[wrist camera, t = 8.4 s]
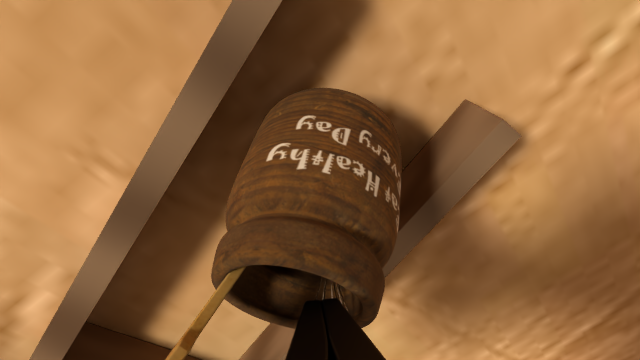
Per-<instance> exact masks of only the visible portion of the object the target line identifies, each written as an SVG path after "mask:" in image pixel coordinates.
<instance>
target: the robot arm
mask: <svg viewBox="0 0 640 360" xmlns="http://www.w3.org/2000/svg"><path fill="white" fill-rule="evenodd" d="M285 360H386V359H385V358H384V357H383V355H382V354H381V353H380V351H379V350H378V349H377V348H376V346H375V345H374V344H373V343H372V341H371V340H370V339H369V338H368V336H367V335H366V334H365V333H364V331H363V330H362V329H361V327H360V326H359V325H358V324H357V322H356V321H355V320H354V319H353V317H352V316H351V315H350V314H349V312H348V311H347V310H346V308H345V307H344V306H343V305H342V303H341V302H340V301H339V300H338V299H337V298H329V299H323V300H322V301H320V300H311V301H306V302H305V303H304V305H303V308H302V311H301V314H300V317H299V320H298V323H297V326H296V329H295V332H294V335H293V338H292V340H291V343H290V346H289V349H288V352H287V355H286V358H285Z"/></svg>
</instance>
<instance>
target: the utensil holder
mask: <svg viewBox="0 0 640 360" xmlns="http://www.w3.org/2000/svg"><path fill="white" fill-rule="evenodd" d="M401 171H402V160H401V148H400V142H399V138H398V135H397V132H396V130H395V128H394V126H393V124H392V123H391V121H390V120H389V118H388V117H387V116H386V115H385V114H384V113H383V112H382V111H381V110H380V109H379V108H378V107H377V106H375V105H374V104H373V103H371V102H370V101H368V100H366V99H365V98H363V97H360V96H358V95H356V94H353V93H350V92H347V91H343V90H339V89H332V88H314V89H307V90H303V91H299V92H296V93H294V94H291V95H289V96H287V97H286V98H284V99H282V100H281V101H280V102H278V103H277V104H276V105H275V106H274V107H273V108H272V109H271V110H270V111H269V113H268V114H267V115H266V117H265V118H264V120H263V122H262V123H261V125H260V127H259V129H258V131H257V133H256V135H255V137H254V139H253V141H252V143H251V146H250V148H249V150H248V152H247V154H246V157H245V159H244V161H243V163H242V165H241V168H240V170H239V172H238V175H237V177H236V179H235V182H234V184H233V187H232V189H231V192H230V195H229V199H228V203H227V208H226V226H227V231H228V232H227V233H226V234H225V235H224V236H223V237H222V239H221V241H220V242H219V244H218V247H217V250H216V254H215V258H214V263H213V268H212V274H211V278H212V283H213V285H214V287H215V289H216V291H215V292H214V294H213V295H212V296H211V298H210V299H209V301H208V302H207V303H206V305H205V306H204V308H203V309H202V310H201V312H200V313H199V314H198V316H197V317H196V319H195V320H194V321H193V323H192V324H191V326H190V327H189V328H188V330H187V331H186V332H185V334H184V335H183V336H182V338H181V339H180V340H179V342H178V343H177V344H176V346H175V347H174V348H173V350H172V351H171V352H170V354H169V355H168V356H167V358H166V359H165V360H184V359H185V358H186V356H187V355H188V353H189V352H190V350H191V348H192V346H193V345H194V343H195V341H196V339H197V338H198V336H199V335H200V333H201V332H202V330H203V329H204V327H205V326H206V324H207V323H208V321H209V320H210V319H211V317H212V316H213V314H214V313H215V311H216V310H217V308H218V307H219V306H220V304H221V303H222V301H223V300H224V299H225V300H227V301H228V302H229V303H231V304H232V305H234V306H235V307H237V308H238V309H240V310H242V311H244V312H246V313H248V314H250V315H252V316H254V317H257V318H259V319H262V320H264V321H267V322H270V323H273V324H277V325H280V326H284V327H288V328H293V329H296V326H297V323H298V320H299V317H300V314H301V311H302V308H303V305H304V303H305V302H306V301H311V300H320V301H322V300H323V299H329V298H337V299H338V300H339V301H340V302H341V303H342V305H343V306H344V307H345V308H346V310H347V311H348V312H349V314H350V315H351V316H352V317H353V319H354V320H355V321H356V322H357V324H358V325H359V326H360V327H361V328H363V327H365V326H367V325H369V324H370V323H371V322H372V321H373V320H374V319H375V318H376V316H377V314H378V311H379V308H380V304H381V300H382V296H383V292H384V287H385V279H384V273H383V270H382V269H383V268H384V266H385V265H386V264H387V262H388V261H389V259H390V257H391V255H392V253H393V250H394V247H395V244H396V239H397V234H398V226H399V213H400V195H401Z"/></svg>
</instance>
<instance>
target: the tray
mask: <svg viewBox="0 0 640 360" xmlns="http://www.w3.org/2000/svg"><path fill="white" fill-rule="evenodd" d="M281 2H282V0H232V2H231V4H230V6H229V7H228V9H227V11H226V13H225V14H224V16H223V18H222V20H221V22H220V23H219V25H218V27H217V29H216V30H215V32H214V34H213V36H212V37H211V39H210V41H209V43H208V45H207V46H206V48H205V50H204V52H203V53H202V55H201V57H200V59H199V60H198V62H197V64H196V66H195V68H194V69H193V71H192V73H191V75H190V76H189V78H188V80H187V82H186V83H185V85H184V87H183V89H182V91H181V92H180V94H179V96H178V98H177V99H176V101H175V103H174V105H173V106H172V108H171V110H170V112H169V114H168V115H167V117H166V119H165V121H164V122H163V124H162V126H161V128H160V129H159V131H158V133H157V135H156V137H155V138H154V140H153V142H152V144H151V145H150V147H149V149H148V151H147V152H146V154H145V156H144V158H143V160H142V161H141V163H140V165H139V167H138V168H137V170H136V172H135V174H134V175H133V177H132V179H131V181H130V183H129V184H128V186H127V188H126V190H125V191H124V193H123V195H122V197H121V198H120V200H119V202H118V204H117V206H116V207H115V209H114V211H113V213H112V214H111V216H110V218H109V220H108V221H107V223H106V225H105V227H104V229H103V230H102V232H101V234H100V236H99V237H98V239H97V241H96V243H95V244H94V246H93V248H92V250H91V252H90V253H89V255H88V257H87V259H86V260H85V262H84V264H83V266H82V267H81V269H80V271H79V273H78V275H77V276H76V278H75V280H74V282H73V283H72V285H71V287H70V289H69V290H68V292H67V294H66V296H65V298H64V299H63V301H62V303H61V305H60V306H59V308H58V310H57V312H56V313H55V315H54V317H53V319H52V321H51V322H50V324H49V326H48V328H47V329H46V331H45V333H44V335H43V336H42V338H41V340H40V342H39V344H38V345H37V347H36V349H35V351H34V352H33V354H32V356H31V358H30V359H29V360H165V359H166V358H167V356H168V355H169V354H170V352H171V351H172V350H169V349H166V348H163V347H160V346H157V345H154V344H151V343H148V342H145V341H142V340H139V339H136V338H132V337H129V336H126V335H123V334H120V333H117V332H114V331H111V330H108V329H105V328H102V327H99V326H96V325H93V324H90V323H87V322H85V321H86V320H87V318H88V317H89V315H90V313H91V312H92V310H93V308H94V307H95V305H96V304H97V302H98V300H99V299H100V297H101V295H102V294H103V292H104V290H105V289H106V287H107V286H108V284H109V282H110V281H111V279H112V277H113V276H114V274H115V273H116V271H117V269H118V268H119V266H120V264H121V263H122V261H123V259H124V258H125V256H126V255H127V253H128V251H129V250H130V248H131V246H132V245H133V243H134V242H135V240H136V238H137V237H138V235H139V233H140V232H141V230H142V228H143V227H144V225H145V224H146V222H147V220H148V219H149V217H150V215H151V214H152V212H153V211H154V209H155V207H156V206H157V204H158V202H159V201H160V199H161V197H162V196H163V194H164V193H165V191H166V189H167V188H168V186H169V184H170V183H171V181H172V180H173V178H174V176H175V175H176V173H177V171H178V170H179V168H180V166H181V165H182V163H183V162H184V160H185V158H186V157H187V155H188V153H189V152H190V150H191V149H192V147H193V145H194V144H195V142H196V140H197V139H198V137H199V135H200V134H201V132H202V131H203V129H204V127H205V126H206V124H207V122H208V121H209V119H210V117H211V116H212V114H213V113H214V111H215V109H216V108H217V106H218V104H219V103H220V101H221V100H222V98H223V96H224V95H225V93H226V91H227V90H228V88H229V86H230V85H231V83H232V82H233V80H234V78H235V77H236V75H237V73H238V72H239V70H240V69H241V67H242V65H243V64H244V62H245V60H246V59H247V57H248V55H249V54H250V52H251V51H252V49H253V47H254V46H255V44H256V42H257V41H258V39H259V38H260V36H261V34H262V33H263V31H264V29H265V28H266V26H267V24H268V23H269V21H270V20H271V18H272V16H273V15H274V13H275V11H276V10H277V8H278V7H279V5H280V3H281ZM520 137H521V135H520V134H519V133H518V132H517V131H516V130H515V129H513V128H512V127H511V126H510V125H509V124H508V123H507V122H505V121H504V120H503V119H501V118H499V117H498V116H496V115H494V114H492V113H490V112H488V111H486V110H484V109H482V108H481V107H479V106H477V105H475V104H473V103H471V102H469V101H467V100H464V101H463V103H462V104H461V105H460V106H459V107H458V108H457V109H456V111H455V112H454V113H453V114H452V115H451V116H450V118H449V119H448V120H447V121H446V122H445V123H444V124H443V126H442V127H441V128H440V129H439V130H438V131H437V132H436V134H435V135H434V136H433V137H432V138H431V139H430V141H429V142H428V143H427V144H426V145H425V146H424V147H423V149H422V150H421V151H420V152H419V153H418V154H417V155H416V157H415V158H414V159H413V160H412V161H411V162H410V164H409V165H408V166H407V167H406V168H405V169H404V170H403V172H402V173H401V195H400V213H399V226H398V234H397V239H396V244H395V247H394V250H393V253H392V255H391V257H390V259H389V261H388V262H387V264H386V265H385V266H384V268H383V269H382V270H383V273H384V278H385V277H386V276H387V275H388V274H389V273H390V272H391V271H392V270H393V269H394V268H395V267H396V266H397V265H398V264H399V263H400V262H401V261H402V260H403V259H404V257H405V256H406V255H407V254H408V253H409V252H410V251H411V250H412V249H413V248H414V247H415V246H416V245H417V244H418V243H419V242H420V241H421V240H422V239H423V238H424V237H425V236H426V235H427V234H428V233H429V232H430V231H431V230H432V229H433V227H434V226H435V225H436V224H437V223H438V222H439V221H440V220H441V219H442V218H443V217H444V216H445V215H446V214H447V213H448V212H449V211H450V210H451V209H452V208H453V207H454V206H455V205H456V204H457V203H458V202H459V201H460V200H461V199H462V197H463V196H464V195H465V194H466V193H467V192H468V191H469V190H470V189H471V188H472V187H473V186H474V185H475V184H476V183H477V182H478V181H479V180H480V179H481V178H482V177H483V176H484V175H485V174H486V173H487V172H488V171H489V170H490V168H491V167H492V166H493V165H494V164H495V163H496V162H497V161H498V160H499V159H500V158H501V157H502V156H503V155H504V154H505V153H506V152H507V151H508V150H509V149H510V148H511V147H512V146H513V145H514V144H515V143H516V142H517V141H518V140H519V138H520ZM294 332H295V329H293V328H288V327H284V326H280V325H277V324H273V323H270V325H269V326H268V327H267V328H266V329H265V330H264V331H263V333H262V334H261V335H260V336H259V337H258V338H257V340H256V341H255V342H254V343H253V344H252V345H251V346H250V348H249V349H248V350H247V351H246V352H245V353H244V354H243V356H242V357H241V358H240V359H239V360H285V358H286V355H287V352H288V349H289V346H290V343H291V340H292V338H293V335H294ZM184 360H200V359H197V358H194V357H191V356H188V355H187V356H186V358H185V359H184Z"/></svg>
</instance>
